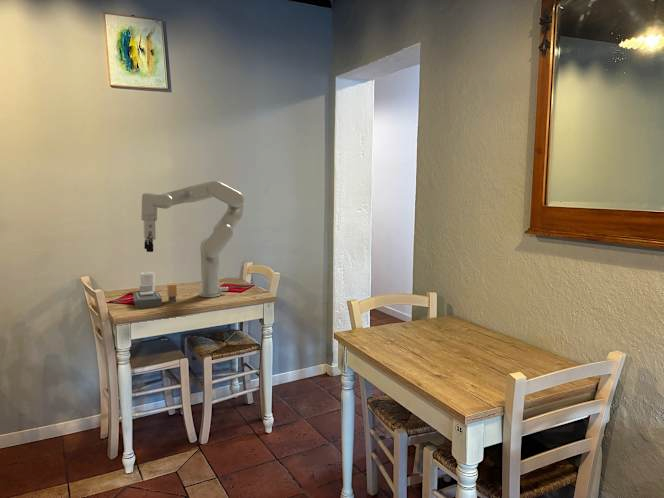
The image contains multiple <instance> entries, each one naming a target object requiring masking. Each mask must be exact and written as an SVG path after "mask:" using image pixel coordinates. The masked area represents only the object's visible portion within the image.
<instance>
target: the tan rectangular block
mask: <svg viewBox="0 0 664 498" xmlns="http://www.w3.org/2000/svg"><path fill="white" fill-rule="evenodd" d="M166 287H167V289H166V290H167V291H166V293H167V294H166V295H167V297H168V302H169V303H176V302H177V298H176V297H177V296H178V295H177V293H178V291H177V284H176V282H174V283H173V282H171V283H170V282H169V283H166Z"/></svg>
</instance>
